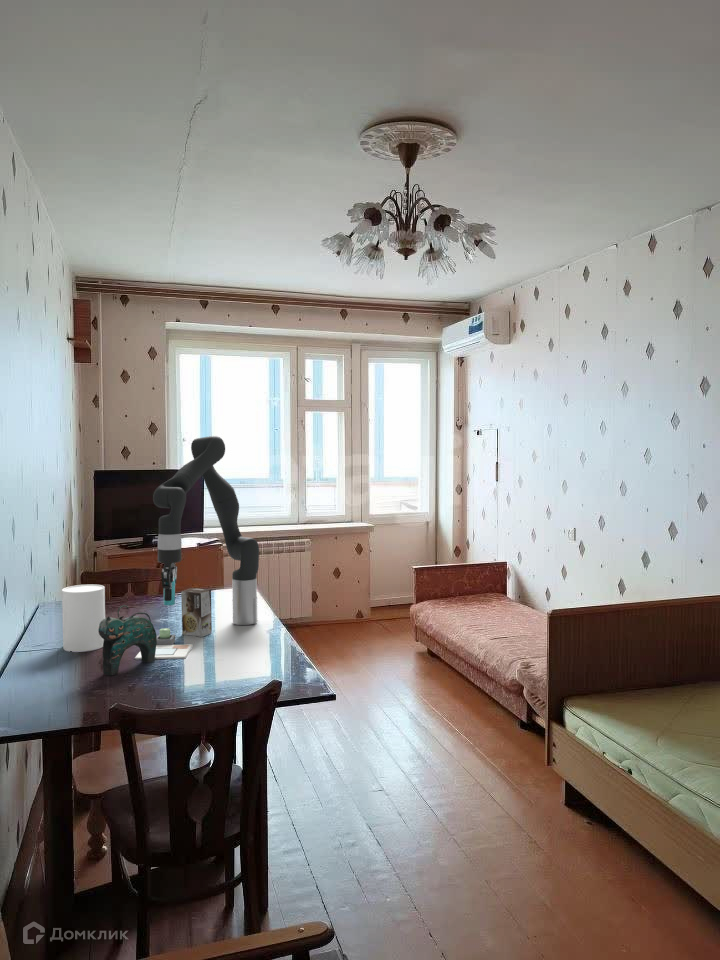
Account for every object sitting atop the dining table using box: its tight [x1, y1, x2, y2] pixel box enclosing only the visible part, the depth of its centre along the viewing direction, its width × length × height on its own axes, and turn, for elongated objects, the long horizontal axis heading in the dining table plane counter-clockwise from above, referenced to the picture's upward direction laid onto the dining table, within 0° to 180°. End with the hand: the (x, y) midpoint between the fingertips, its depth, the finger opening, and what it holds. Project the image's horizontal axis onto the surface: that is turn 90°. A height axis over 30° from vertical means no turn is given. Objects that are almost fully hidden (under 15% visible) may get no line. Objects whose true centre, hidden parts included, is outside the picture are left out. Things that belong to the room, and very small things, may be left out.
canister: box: [61, 583, 106, 653], centre depth 242 cm, size 14×14×20 cm
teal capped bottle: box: [163, 574, 176, 606], centre depth 233 cm, size 4×4×10 cm
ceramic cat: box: [98, 604, 157, 677], centre depth 219 cm, size 20×6×20 cm, turn 148°
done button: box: [158, 627, 171, 639], centre depth 245 cm, size 4×4×3 cm
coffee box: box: [180, 587, 213, 638], centre depth 258 cm, size 9×6×16 cm
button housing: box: [156, 634, 176, 645], centre depth 245 cm, size 6×6×2 cm
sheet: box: [134, 643, 194, 661], centre depth 235 cm, size 16×14×1 cm
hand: (169, 599), depth 234 cm, fingers closed on teal capped bottle, 3 cm apart
